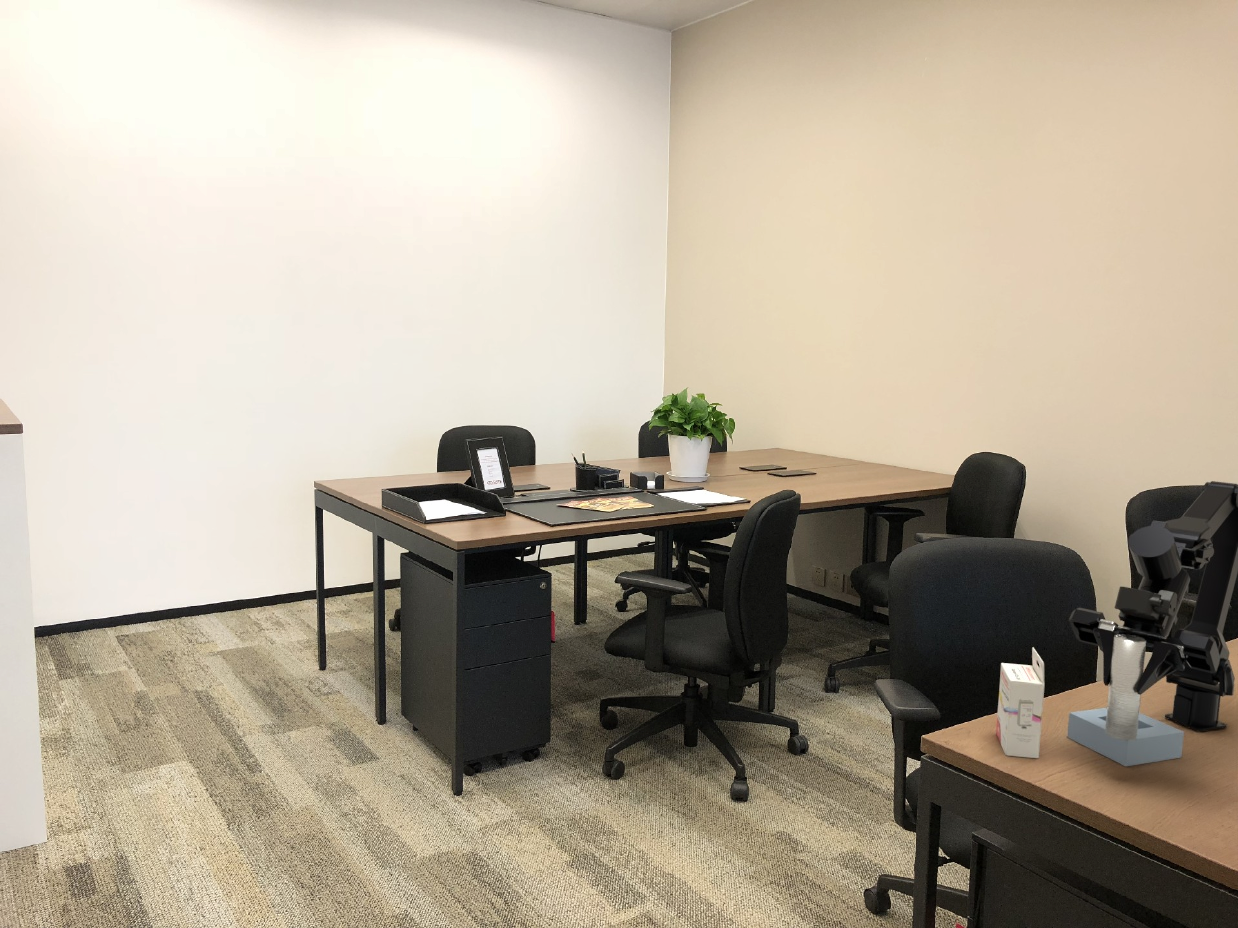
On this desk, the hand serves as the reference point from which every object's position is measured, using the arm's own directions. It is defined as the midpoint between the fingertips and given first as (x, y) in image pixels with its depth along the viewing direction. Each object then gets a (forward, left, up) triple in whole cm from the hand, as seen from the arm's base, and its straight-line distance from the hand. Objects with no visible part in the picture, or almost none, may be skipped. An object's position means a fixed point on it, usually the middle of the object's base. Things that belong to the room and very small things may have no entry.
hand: (1121, 688), depth 134 cm
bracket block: (-11, -8, -13) cm, 19 cm away
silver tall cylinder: (-1, -1, -7) cm, 7 cm away
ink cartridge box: (+5, -13, -14) cm, 20 cm away
